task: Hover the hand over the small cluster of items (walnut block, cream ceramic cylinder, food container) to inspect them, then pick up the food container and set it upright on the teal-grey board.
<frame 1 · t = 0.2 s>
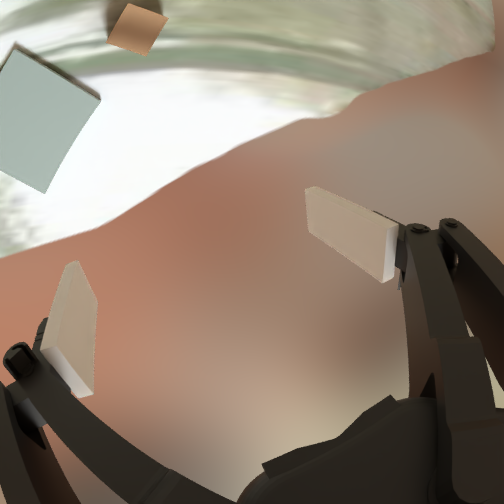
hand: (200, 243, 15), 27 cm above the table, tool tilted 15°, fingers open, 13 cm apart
walnut block: (135, 31, 26), on the table
teal board: (27, 122, 26), on the table
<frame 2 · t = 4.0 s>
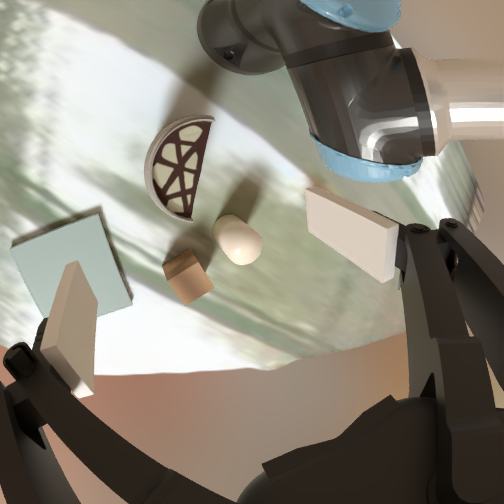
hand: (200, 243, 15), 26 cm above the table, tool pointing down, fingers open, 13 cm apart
food container: (163, 158, 37), on the table
walnut block: (184, 268, 45), on the table
cream cylinder: (227, 230, 45), on the table
teal board: (70, 275, 37), on the table
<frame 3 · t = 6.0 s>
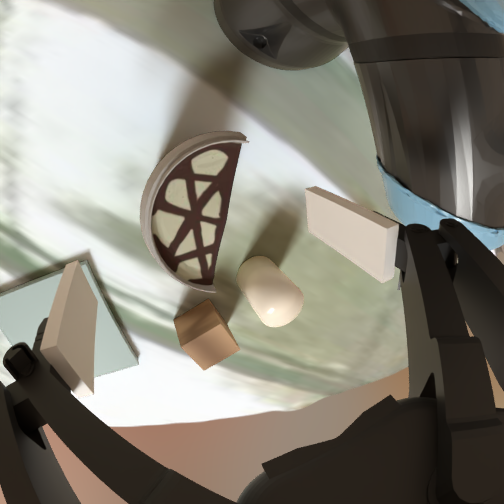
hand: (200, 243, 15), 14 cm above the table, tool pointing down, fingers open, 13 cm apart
food container: (169, 186, 28), on the table
walnut block: (200, 322, 36), on the table
cream cylinder: (256, 274, 36), on the table
teal board: (61, 332, 29), on the table
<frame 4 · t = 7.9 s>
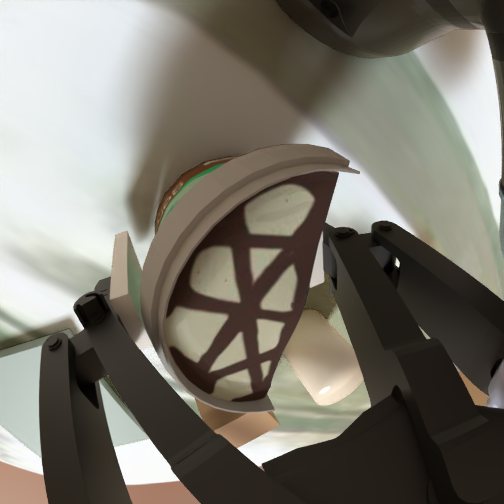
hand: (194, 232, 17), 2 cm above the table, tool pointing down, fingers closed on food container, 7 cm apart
food container: (184, 223, 18), on the table, touching gripper
walnut block: (227, 389, 26), on the table
cream cylinder: (299, 331, 26), on the table
teal board: (48, 406, 19), on the table
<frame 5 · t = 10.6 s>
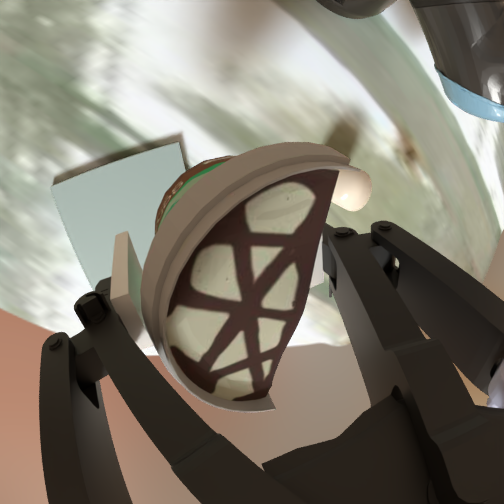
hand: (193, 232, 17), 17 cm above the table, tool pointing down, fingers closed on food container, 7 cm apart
food container: (184, 223, 18), point 15 cm above the table, touching gripper
cream cylinder: (323, 176, 38), on the table
teal board: (131, 223, 32), on the table
when the fingers open (2 cm above the table, at t = 13.6 s): food container stays where it is, resting on teal board.
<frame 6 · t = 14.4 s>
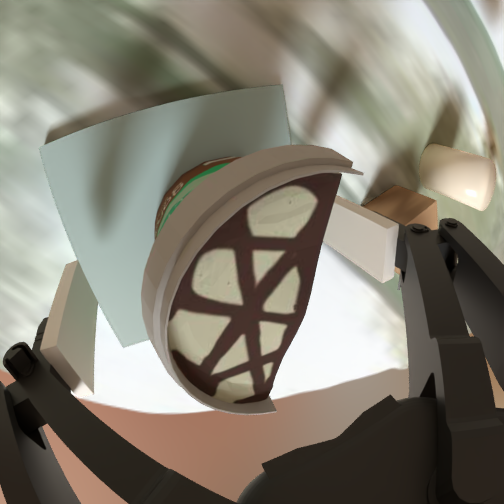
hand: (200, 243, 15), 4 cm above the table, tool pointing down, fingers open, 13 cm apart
food container: (184, 224, 18), point 1 cm above the table, touching teal board
walnut block: (381, 219, 26), on the table
cream cylinder: (432, 166, 26), on the table
teal board: (186, 219, 19), on the table
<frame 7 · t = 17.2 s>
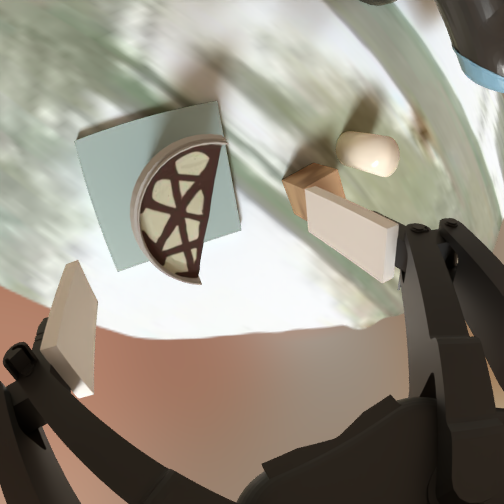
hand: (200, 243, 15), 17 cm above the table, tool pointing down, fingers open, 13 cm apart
food container: (158, 186, 29), point 1 cm above the table, touching teal board
walnut block: (303, 188, 37), on the table
cream cylinder: (349, 148, 37), on the table
teal board: (160, 185, 30), on the table
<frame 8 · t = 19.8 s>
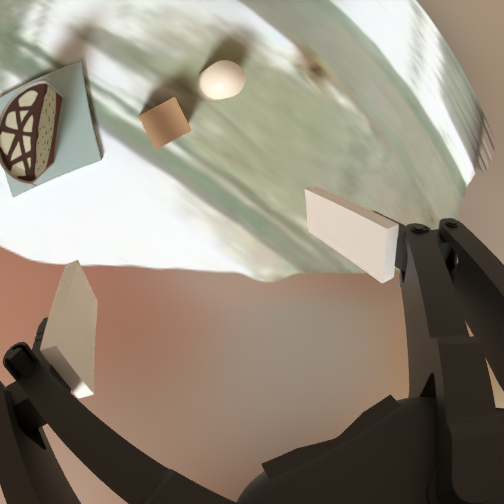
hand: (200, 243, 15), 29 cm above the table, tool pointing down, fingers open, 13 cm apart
food container: (39, 129, 29), point 1 cm above the table, touching teal board
walnut block: (161, 122, 37), on the table
cream cylinder: (211, 85, 37), on the table
teal board: (42, 128, 30), on the table
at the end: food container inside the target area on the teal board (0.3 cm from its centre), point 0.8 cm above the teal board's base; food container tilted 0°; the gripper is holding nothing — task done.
